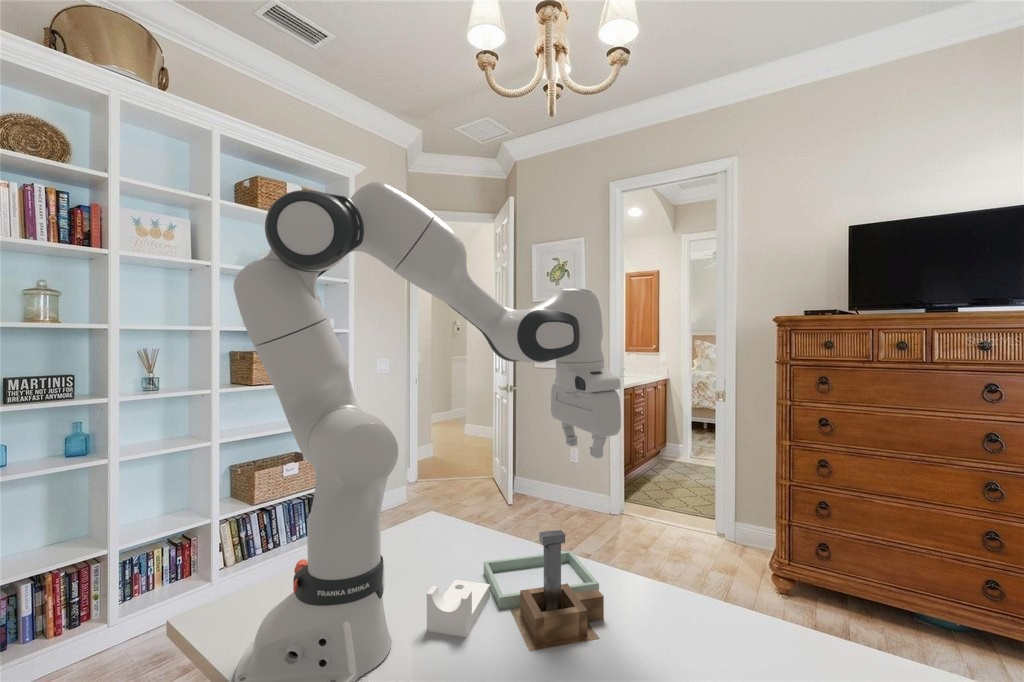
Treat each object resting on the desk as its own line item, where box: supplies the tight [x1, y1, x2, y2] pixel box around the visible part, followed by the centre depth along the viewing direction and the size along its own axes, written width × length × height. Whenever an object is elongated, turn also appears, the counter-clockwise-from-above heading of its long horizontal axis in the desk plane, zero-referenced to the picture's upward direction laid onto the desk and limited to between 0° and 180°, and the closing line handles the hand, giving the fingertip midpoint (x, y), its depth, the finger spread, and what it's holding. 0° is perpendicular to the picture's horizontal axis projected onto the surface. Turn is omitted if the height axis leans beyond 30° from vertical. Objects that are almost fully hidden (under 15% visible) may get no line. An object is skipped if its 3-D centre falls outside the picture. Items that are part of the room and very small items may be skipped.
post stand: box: [509, 529, 600, 652], centre depth 83 cm, size 12×12×16 cm
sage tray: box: [483, 550, 600, 610], centre depth 97 cm, size 20×15×3 cm
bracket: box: [426, 579, 491, 638], centre depth 86 cm, size 13×7×8 cm, turn 165°
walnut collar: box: [519, 583, 605, 643], centre depth 83 cm, size 14×9×4 cm, turn 105°
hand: (583, 450), depth 89 cm, fingers open, 8 cm apart
